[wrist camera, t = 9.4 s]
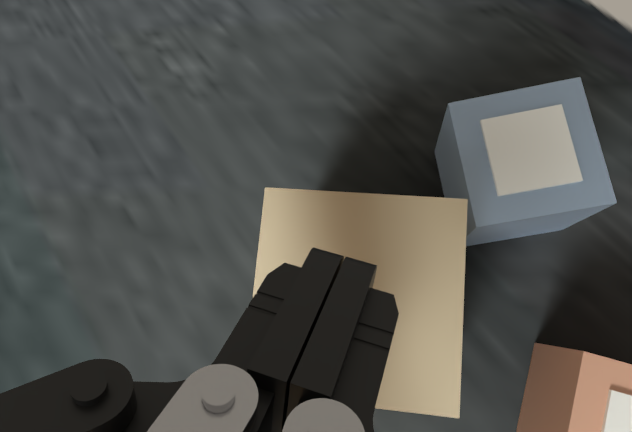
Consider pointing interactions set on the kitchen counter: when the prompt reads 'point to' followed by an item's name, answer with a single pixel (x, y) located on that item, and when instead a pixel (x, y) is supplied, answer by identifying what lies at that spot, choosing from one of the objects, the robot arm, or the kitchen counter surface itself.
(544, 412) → the terracotta label block
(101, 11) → the kitchen counter surface
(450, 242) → the plain block
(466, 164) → the blue label block
